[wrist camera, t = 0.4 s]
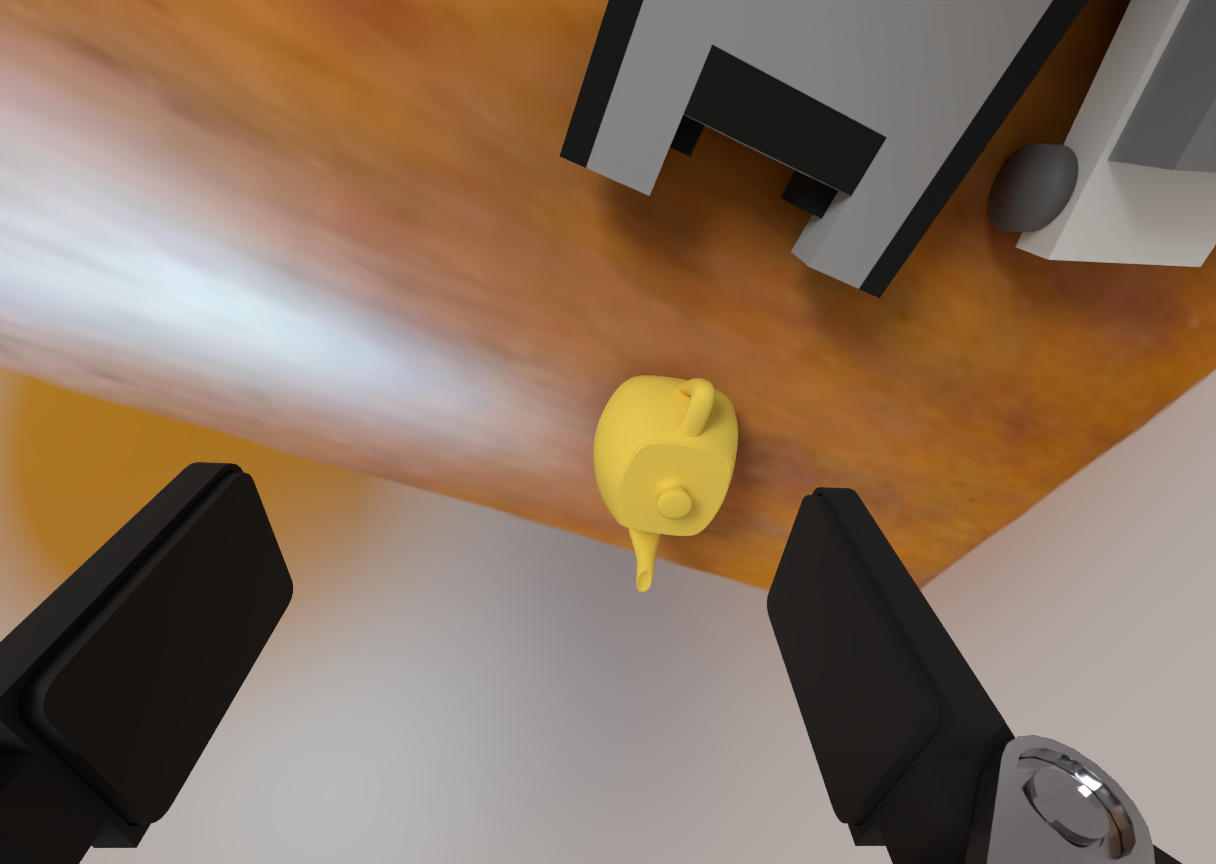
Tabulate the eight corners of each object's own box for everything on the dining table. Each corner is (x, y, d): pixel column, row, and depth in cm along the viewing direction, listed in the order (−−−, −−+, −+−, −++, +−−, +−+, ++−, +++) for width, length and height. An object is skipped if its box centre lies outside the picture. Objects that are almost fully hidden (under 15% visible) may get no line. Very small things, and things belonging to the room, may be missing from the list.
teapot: (686, 515, 51) (707, 606, 42) (574, 498, 49) (571, 590, 40) (754, 347, 41) (799, 420, 32) (617, 320, 40) (625, 388, 31)
